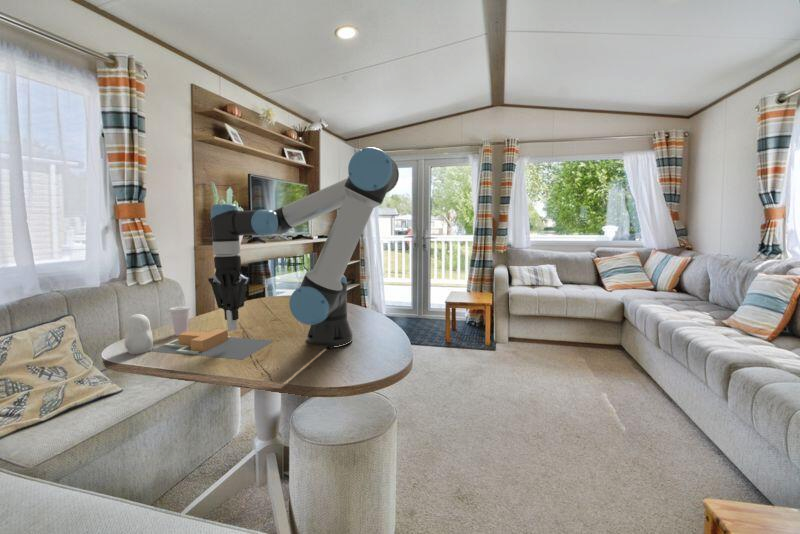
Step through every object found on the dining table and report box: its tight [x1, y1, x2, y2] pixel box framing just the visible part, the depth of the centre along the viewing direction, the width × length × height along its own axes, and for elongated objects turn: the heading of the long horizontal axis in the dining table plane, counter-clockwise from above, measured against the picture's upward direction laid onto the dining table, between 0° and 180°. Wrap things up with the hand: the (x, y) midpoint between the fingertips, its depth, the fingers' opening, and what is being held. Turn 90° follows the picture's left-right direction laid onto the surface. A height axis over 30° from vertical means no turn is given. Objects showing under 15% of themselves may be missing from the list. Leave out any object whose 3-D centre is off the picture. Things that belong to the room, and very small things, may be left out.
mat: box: [147, 336, 276, 360], centre depth 121 cm, size 32×18×1 cm, turn 79°
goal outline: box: [163, 335, 232, 354], centre depth 123 cm, size 15×16×1 cm
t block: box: [177, 328, 229, 352], centre depth 122 cm, size 12×12×4 cm
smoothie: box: [168, 295, 191, 337], centre depth 135 cm, size 6×6×14 cm
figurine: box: [124, 313, 154, 355], centre depth 118 cm, size 7×8×12 cm
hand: (232, 330), depth 119 cm, fingers closed
